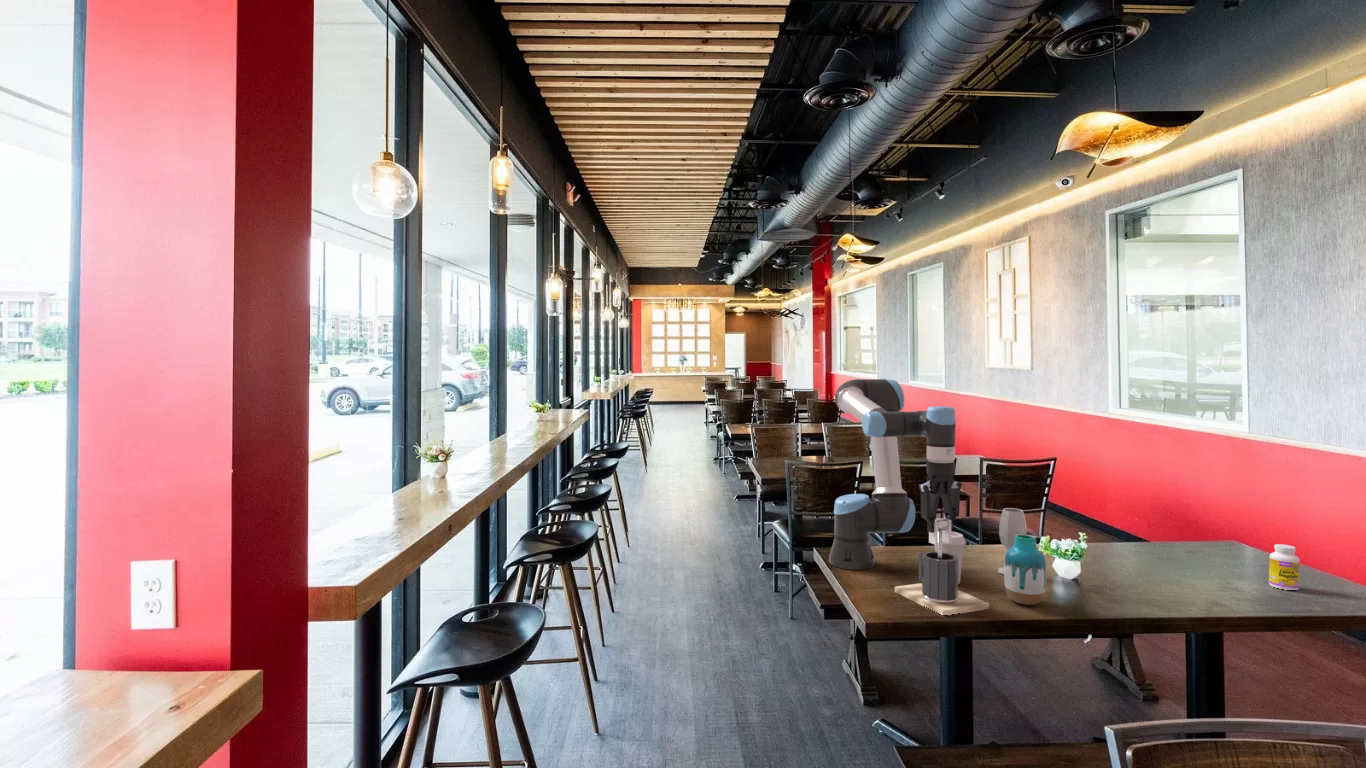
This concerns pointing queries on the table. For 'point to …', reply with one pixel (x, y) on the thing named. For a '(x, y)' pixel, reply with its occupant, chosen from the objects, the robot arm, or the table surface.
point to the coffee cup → (954, 549)
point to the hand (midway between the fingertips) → (940, 542)
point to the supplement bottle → (1284, 568)
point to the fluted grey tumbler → (939, 577)
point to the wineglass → (1011, 527)
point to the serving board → (961, 606)
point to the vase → (1025, 571)
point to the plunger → (941, 526)
